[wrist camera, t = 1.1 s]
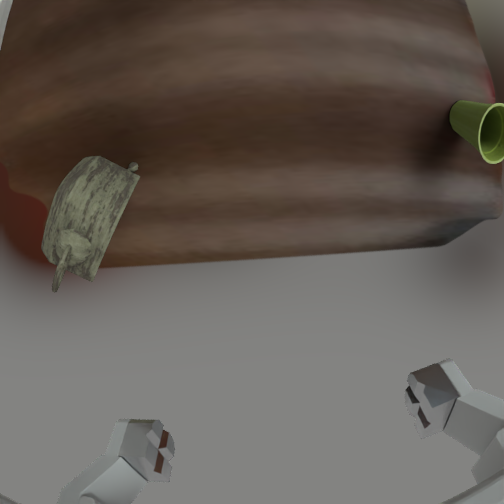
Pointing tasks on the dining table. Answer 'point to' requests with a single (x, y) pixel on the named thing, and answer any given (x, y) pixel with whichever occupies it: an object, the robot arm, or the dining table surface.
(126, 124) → the dining table surface
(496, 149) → the plant pot
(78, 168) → the tabletop clock
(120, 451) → the robot arm
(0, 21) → the switch bank
